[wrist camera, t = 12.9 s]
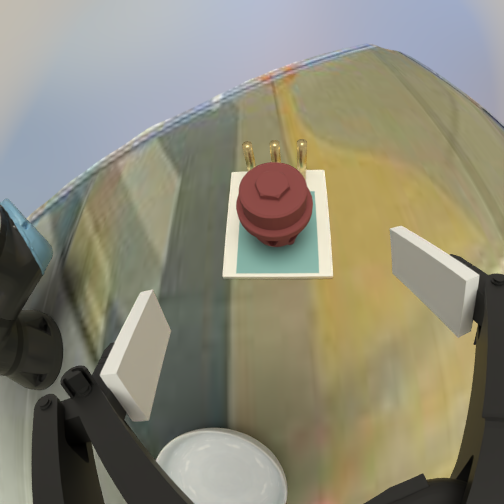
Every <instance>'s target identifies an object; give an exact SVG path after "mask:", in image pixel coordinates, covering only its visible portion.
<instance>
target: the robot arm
mask: <svg viewBox="0 0 504 504" xmlns="http://www.w3.org/2000/svg"><path fill="white" fill-rule="evenodd" d="M390 238H391V252H392V272H393V274H394V275H395V276H396V277H397V278H398V279H399V280H400V281H401V282H402V283H403V284H404V285H406V286H407V287H408V288H409V289H410V290H411V291H412V292H413V293H414V294H415V295H416V296H417V297H418V298H419V299H420V300H421V301H422V302H423V303H424V304H425V305H426V306H427V307H428V308H429V309H430V310H431V311H432V312H433V313H434V314H435V315H436V316H437V317H438V318H439V319H440V320H441V321H442V322H443V323H444V324H445V325H446V326H447V327H448V328H449V329H450V330H451V331H452V332H453V333H454V334H455V335H456V336H457V337H460V336H462V335H464V334H466V333H468V332H470V331H471V328H472V323H473V320H474V321H475V322H476V323H478V327H477V332H476V337H475V341H474V345H476V353H475V365H474V375H473V383H472V391H471V397H470V404H469V410H468V415H467V420H466V425H465V430H464V435H463V439H462V443H461V448H460V452H459V455H458V459H457V462H456V465H455V468H454V470H453V472H452V474H451V477H450V478H436V479H429V480H426V478H425V476H424V474H420V475H418V476H416V477H414V478H412V479H409V480H407V481H405V482H402V483H400V484H398V485H395V486H393V487H390V488H389V489H387V490H385V491H384V492H382V493H381V494H379V495H378V496H376V497H374V498H373V499H371V500H369V501H368V502H366V503H364V504H504V275H503V274H491V275H487V274H486V273H484V272H483V271H481V270H480V269H478V268H477V267H475V266H474V265H473V266H472V264H471V263H469V262H467V261H466V260H464V259H463V258H461V257H459V256H456V255H453V254H450V255H449V254H447V253H446V252H444V251H442V250H441V249H439V248H438V247H436V246H434V245H433V244H431V243H430V242H428V241H426V240H425V239H423V238H421V237H420V236H418V235H416V234H415V233H413V232H411V231H410V230H408V229H406V228H404V227H403V226H398V227H395V228H391V229H390ZM52 254H53V250H52V247H51V245H50V244H49V243H48V241H47V240H46V239H45V238H44V237H43V236H42V235H41V234H40V233H39V232H38V231H37V230H36V229H35V227H34V226H33V225H32V224H31V223H30V222H29V221H28V220H27V219H26V218H25V217H24V216H23V214H22V213H21V212H20V211H19V210H18V209H17V208H16V207H15V206H14V204H13V203H12V202H11V201H10V200H9V199H5V200H4V201H2V202H1V203H0V375H3V376H7V377H9V378H10V379H12V380H13V381H15V382H17V383H19V384H20V385H22V386H24V387H26V388H29V389H37V390H41V389H45V388H47V387H49V386H50V385H51V384H52V383H53V382H54V381H55V379H56V378H57V376H58V373H59V371H60V368H61V363H62V355H63V348H62V340H61V335H60V332H59V329H58V327H57V325H56V324H55V322H54V321H53V319H52V318H51V317H49V316H48V315H47V314H44V313H42V312H39V311H36V310H22V308H23V306H24V305H25V303H26V301H27V300H28V298H29V296H30V295H31V293H32V291H33V290H34V288H35V287H36V285H37V283H38V282H39V280H40V279H41V277H42V276H43V275H44V271H45V269H46V267H47V266H48V264H49V262H50V260H51V259H52ZM170 333H171V330H170V328H169V325H168V323H167V321H166V319H165V316H164V314H163V312H162V310H161V307H160V305H159V303H158V300H157V298H156V296H155V293H154V291H153V290H149V291H145V292H140V294H139V296H138V298H137V300H136V302H135V304H134V306H133V308H132V310H131V312H130V313H129V315H128V317H127V319H126V321H125V323H124V325H123V327H122V329H121V331H120V333H119V335H118V337H117V339H116V341H115V343H111V344H110V345H109V346H108V347H107V348H106V349H105V350H104V352H103V354H102V356H101V359H100V360H99V362H98V365H97V366H96V368H95V370H94V372H93V374H92V375H91V374H90V372H89V371H88V369H87V368H86V367H85V366H75V367H73V368H71V369H70V370H68V371H67V372H66V373H65V374H64V375H63V376H62V378H61V385H62V387H63V388H64V389H65V391H66V392H67V393H68V395H69V396H70V397H71V398H70V399H67V400H64V401H61V402H60V400H59V399H58V398H57V396H55V395H54V394H48V395H45V396H44V397H41V399H39V400H38V402H37V403H36V405H35V408H34V418H33V433H32V493H33V504H105V503H104V499H103V495H102V491H101V487H100V483H99V479H98V474H97V470H96V465H95V460H94V455H93V449H92V444H93V446H94V448H95V450H96V452H97V454H98V456H99V457H100V459H101V461H102V463H103V465H104V466H105V468H106V470H107V472H108V473H109V475H110V477H111V478H112V480H113V482H114V483H115V485H116V487H117V488H118V490H119V491H120V493H121V494H122V496H123V498H124V499H125V501H126V502H127V504H194V503H193V502H192V501H191V500H190V499H189V497H188V496H187V495H186V494H185V493H184V492H183V491H182V490H181V489H180V488H179V487H178V486H177V485H176V484H175V483H174V481H173V480H172V479H171V478H170V477H169V476H168V475H167V474H166V472H165V471H164V470H163V469H162V468H161V467H160V465H159V464H158V463H157V462H156V461H155V459H154V458H153V457H152V456H151V454H150V453H149V452H148V451H147V449H146V448H145V447H144V446H143V444H142V443H141V442H140V440H139V439H138V438H137V436H136V435H135V434H134V432H133V431H132V430H131V428H130V427H129V425H128V424H127V423H126V422H125V420H124V419H125V416H126V413H127V414H128V416H129V417H130V418H131V420H132V421H133V422H135V421H149V418H150V413H151V409H152V404H153V400H154V396H155V392H156V387H157V383H158V379H159V375H160V371H161V367H162V363H163V359H164V355H165V352H166V348H167V344H168V340H169V336H170ZM91 442H92V443H91Z"/></svg>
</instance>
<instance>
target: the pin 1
mask: <svg viewBox="0 0 504 504" xmlns="http://www.w3.org/2000/svg"><path fill="white" fill-rule="evenodd" d="M242 146H243V151H244V155H245V160H246V165H247V169H248V171H250V170H251V169H252V168H254V167H256V164H255V159H254V153H253V148H252V143H251V142H249V141H246V142H244V143H243V144H242Z"/></svg>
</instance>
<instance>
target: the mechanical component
mask: <svg viewBox="0 0 504 504" xmlns="http://www.w3.org/2000/svg"><path fill="white" fill-rule="evenodd" d="M312 209H313V199H312V195H311V193H310V190H309V189H308V187H307V184H306V181H305V179H304V177H303V175H302V174H301V173H300V172H299V171H298V170H297V169H295V168H294V167H292V166H290V165H287V164H284V163H279V162H270V163H264V164H261V165H258V166H256V167H254V168H252V169H251V170H250V171H248V172H247V173H246V174H245V176H244V177H243V178H242V180H241V182H240V185H239V194H238V197H237V201H236V210H237V214H238V217H239V220H240V222H241V224H242V226H243V227H244V229H245V230H246V231H247V232H249V233H250V234H251V235H253V236H255V237H257V239H258V240H259V241H261V242H262V243H263V244H265V245H268V246H271V247H282V246H285V245H292V244H293V243H294V242H295V239H296V237H297V236H298V234H299V233H300V232H301V231H302V230H303V229H304V228H305V227H306V226H307V224H308V223H309V221H310V218H311V215H312Z"/></svg>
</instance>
